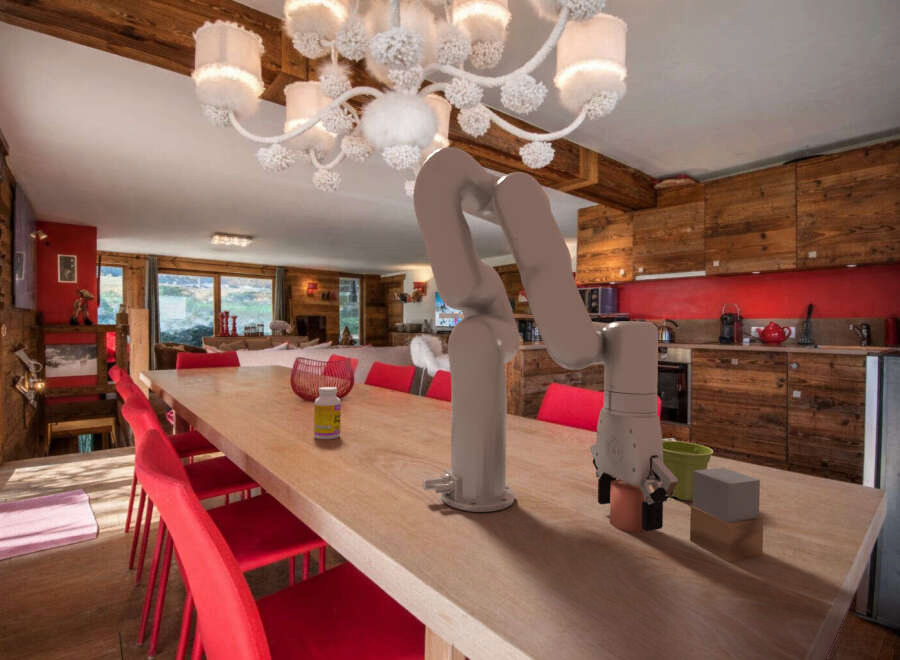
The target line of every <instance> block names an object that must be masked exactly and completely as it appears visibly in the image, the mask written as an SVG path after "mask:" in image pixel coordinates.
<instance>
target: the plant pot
mask: <svg viewBox="0 0 900 660" xmlns="http://www.w3.org/2000/svg"><path fill="white" fill-rule="evenodd" d="M680 441H681V440H677V441H662V444H663V464H664V465H665V466H666V467H667V468H668V469H669V470H670V471H671V472H672V473H673V474H674V475H675V476H676V478H677V480H678V482H677V484H676V486H675V488H674V490H673V494H672V495H671V496H670V497H671V498H672V497H675V498H677V499H679V501H680V500H681V501H691V502H693V471H696V470H705V469H708V464H709V463H710V461H711V460H710V459H711V457H712V455H713V454H714V450H713V449H712V448H710V447H708V446H705V445H702V444H698V443H694V442H689V441H688V442H686V441H682V442H680ZM670 497H669V498H670Z"/></svg>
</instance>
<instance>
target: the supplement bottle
mask: <svg viewBox="0 0 900 660" xmlns="http://www.w3.org/2000/svg"><path fill="white" fill-rule="evenodd" d="M318 394H319V396H318V397H317V398H315V400H314V417H313V418H314V419H313V421H314V423H313V425H314V426H313V435H314V438H316V439H318V440H334V439H337V438H339V437H340V436H341V415H342V414H341V408H342V407H341V406H342V405H341V404H342V403H341V402H342V401H341V399H340V398H339V397H338V396H337V395H338V388H337V387H336V386H324V387H323V386H322V387H318Z"/></svg>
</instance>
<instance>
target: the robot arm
mask: <svg viewBox="0 0 900 660" xmlns="http://www.w3.org/2000/svg"><path fill="white" fill-rule="evenodd" d="M413 207H414V208H413V209H414V213H415V216H416V220H417V224H418V227H419V230H420V233H421V236H422V240H423V242H424V246H425V249H426V255H427V258H428V261H429V264H430V268H431V271H432V275H433V278H434V282H435V285H436V289H437V292H438V295H439V297H440V299H441V301H442V302H443V304H445V305H446V306H447V307H449V308H451V309H453V310H457V311H462V314H463V317H464V318H462V319H461V320H460V321H458V323H456V324H455V325H454V327H453V328H452V330H451V332H450V335H449V337H448V341H447V342H448V343H447V354H448V355H447V356H448V363H449V370H450V371H449V372H450V382H451V383H450V385H451V386H450V388H451V391H450V392H451V395H450V397H451V401H450V403H451V404H450V405H451V406H450V407H451V425H450V426H451V427H450V429H451V431H450V468H446V469H445V471H444V473H445V474H441V475H440V477H424V478H423V479H422V487H423V490H424V491H428V490H429V491H430V490H434V493H435V494H440V497H441V500H442V501H443V502H444V503H445V504H446V505H447V506H450V507H451V508H454V509H457V510H461V511H464V512H465V511H466V512H475V513H490V512H497V511H500V510H501V511H502V510H504V509H506V508H509V507H510V506H512V505H513V504H514V501H515V492H514V490H513V489H512V488H511V487H509V486H508V485H506V475H507V474H506V473H507V471H506V470H507V469H506V468H507V423H508V422H507V419H508V417H507V416H508V415H507V414H508V411H507V410H508V407H507V403H508V401H507V399H508V396H507V395H508V394H507V393H508V392H507V379H506V378H507V377H506V369H505V365H506V364H508V363H510V362H511V361H512V360H513V359H514V358H515V357H516V355H517V354H518V351H519V348H520V342H521V339H520V338H521V336H520V331H519V329H518V325H517V322H516V318H515V316H514V313H513V310H512V306H511V303H510V300H509V297H508V293H507V290H506V288H505V285H504V282H503V281H502V279H501V276H500V275H499V273H498V272H497V271H496V269H495V268H493V267H492V266H490V265H488V264H486V263H484V262H483V261H482V260H481V258H480V255H479V254H478V251H477V247H476V244H475V242H474V238H473V234H472V231H471V228H470V226H469V224H468V221H467V219H466V217H465V215H464V213H466V214H468V215H470V216H473V217H475V218H478V219H481V220H483V221H487V222H489V223H491V224H493V225H497V226H499V227H500V228H501V229H500V230H501V231H502V233H503V236H504V238H505V240H506V242H507V245H508V248H509V249H510V252H511V254H512V256H513V259H514V261H515V262H514V263H515V264H516V267H517V269H518V272H519V274H520V278H521V279H520V280H521V284H522V286H523V290H524V292H525V297H526V300H527V302H528V306H529V310H530V312H531V315H532V317H533V320H534V322H535V325H536V328H537V330H538V332H539V334H540V336H541V339H542V341H543V344H544V346H545V348H546V350H547V353H548V354H549V355H550V357H551V358H552V360H553V361H554V362H555V363H556V364H557V365H558V366H560V367H562V368H564V369H567V370H570V371H577V370H582V369H586V368H588V367H590V366H593V365H604V366H603V367H604V368H603V370H604V371H603V407H601V409H600V412H599V417H598V420H597V427H596V438H595V444H592V445H591V446H590V448H589V449H590V453H591V457H592V458H593V459H592V464H593V466H594V468H595V470H596V471H595V477H596V478H597V479H598V480H597V503H598V504H600V505H610V488H611V482H612V481H614V480H621V481H623V482H625V483H627V484H629V485H632V486H639V487H640V489H641V491H642V493H643V496H644V498H645V500H646V501H644V502H642V529H643V531H645V532H649V531H655V530H656V531H657V530H661V529H662V528H663V527H664V526H663V525H664V503H666V502H667V501H668V499H669V498H670V496H671V495H672V494H673V490H674V488H675V486H676V484H677V482H678V480H677V478H676V476H675V475H674V474H673V473H672V472H671V471H670V470H669V469H668V468H667V467H666V466H665V465H664V464H663V444H662V439H663V435H662V427H661V422H660V416H659V415H658V373H659V370H658V366H659V362H658V361H659V330H658V327H657V326H656V325H655V324H654V323H652V322H650V321H639V320H638V321H631V320H629V321H626V320H625V321H613V322H607V323H606V322H600V321H592V319H591V317H590V315H589V311H588V310H587V308H586V305H585V303H584V301H583V300H584V299H582V295H581V294H580V291H579V288H578V286H577V283H576V280H575V277H574V274H573V268H572V267H573V265H572V256H571V253H570V250H569V248H568V244H567V243H566V240H565V239H564V236H563V233H562V232H561V230H560V228H559V226H558V223H557V221H556V219H555V216H554V214H553V212H552V210H551V202H550V198H549V197H548V194H547V193H546V192H545V190H544V188H543V187H542V185H541V184H540V182H539V181H538V180H537V179H536V178H535V177H534V176H532V175H531V174H529V173H526V172H522V171H515V172H510V173H508V174H505V175H504V176H502V177H500V176H497V175H495V174H493V173H490V172H488V170H486V169H485V168H484V167H483V166H482V165H481V163H480V162H478V161H477V160H476V159H475V158H474V157H473V156H472V155H471V154H470V153H468V152H467V151H465V150H462V149H460V148H457V147H454V146H453V147H452V146H447V147H441V148H439V149H437V150H435V151H434V152H433V153H431V154H430V155H429V156H428V157H427V158H426V160H425V161H424V162H423V164H422V165H421V167H420V169H419V171H418V173H417V176H416V178H415V183H414V187H413ZM650 486H652V489H653V492H652V491H651V488H650Z"/></svg>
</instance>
